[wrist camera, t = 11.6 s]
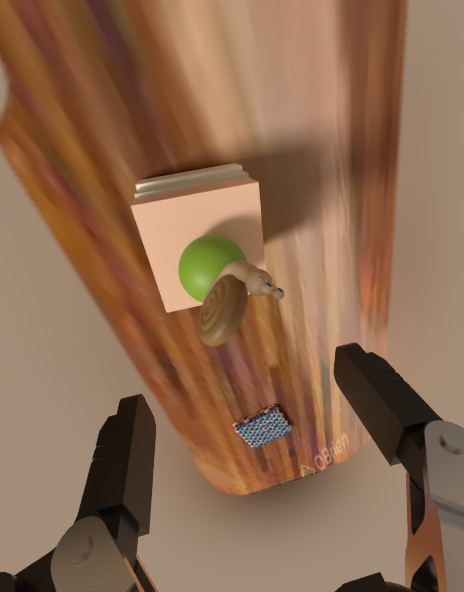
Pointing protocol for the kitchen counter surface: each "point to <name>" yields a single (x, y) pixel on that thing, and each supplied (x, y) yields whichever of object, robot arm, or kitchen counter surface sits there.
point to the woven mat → (263, 426)
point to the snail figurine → (221, 285)
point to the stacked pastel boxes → (196, 221)
